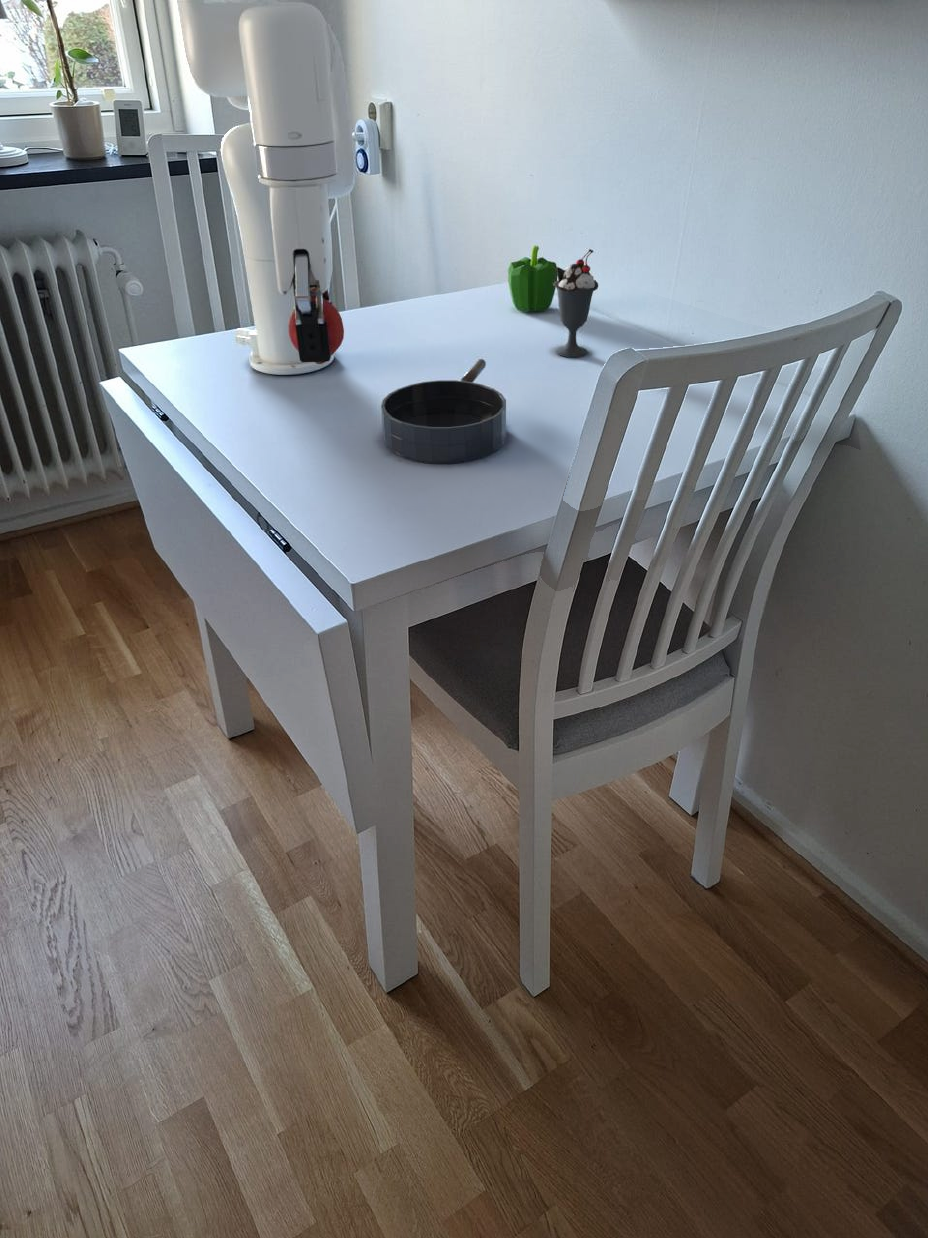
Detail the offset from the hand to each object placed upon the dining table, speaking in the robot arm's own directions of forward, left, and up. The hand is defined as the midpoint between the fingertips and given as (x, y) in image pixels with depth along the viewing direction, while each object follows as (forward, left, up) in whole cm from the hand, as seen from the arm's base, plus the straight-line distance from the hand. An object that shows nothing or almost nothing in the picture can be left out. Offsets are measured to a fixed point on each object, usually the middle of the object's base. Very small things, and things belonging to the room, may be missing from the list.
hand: (318, 348), depth 93 cm
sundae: (+19, +47, -14) cm, 53 cm away
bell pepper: (+8, +67, -14) cm, 69 cm away
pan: (+10, +12, -14) cm, 21 cm away
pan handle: (+10, +24, -11) cm, 28 cm away
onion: (0, 0, -2) cm, 2 cm away
